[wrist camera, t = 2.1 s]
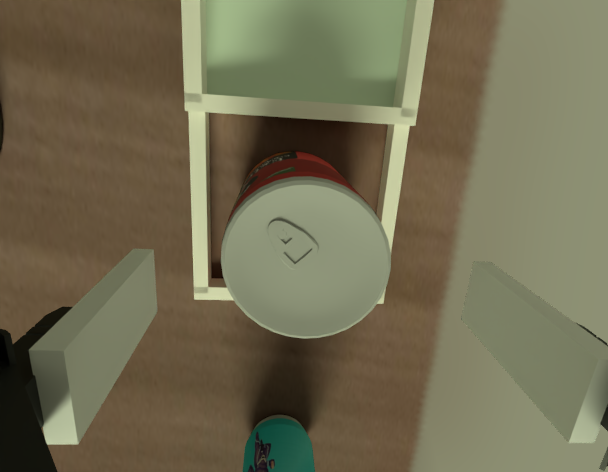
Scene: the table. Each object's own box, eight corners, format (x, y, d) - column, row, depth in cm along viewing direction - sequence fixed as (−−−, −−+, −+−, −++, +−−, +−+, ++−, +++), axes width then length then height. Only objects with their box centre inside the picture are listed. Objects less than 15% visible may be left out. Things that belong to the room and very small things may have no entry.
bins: (186, -166, 20) (174, -201, 18) (439, -133, 22) (459, -162, 19) (198, 289, 29) (191, 306, 27) (378, 294, 30) (387, 310, 28)
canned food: (276, 127, 26) (277, 142, 15) (370, 189, 27) (428, 241, 17) (219, 219, 27) (186, 290, 17) (311, 273, 29) (332, 365, 19)
